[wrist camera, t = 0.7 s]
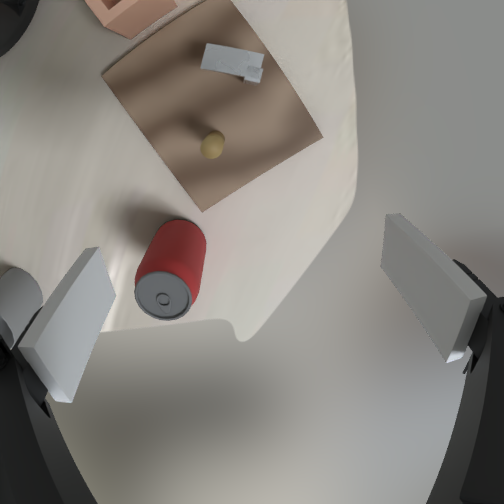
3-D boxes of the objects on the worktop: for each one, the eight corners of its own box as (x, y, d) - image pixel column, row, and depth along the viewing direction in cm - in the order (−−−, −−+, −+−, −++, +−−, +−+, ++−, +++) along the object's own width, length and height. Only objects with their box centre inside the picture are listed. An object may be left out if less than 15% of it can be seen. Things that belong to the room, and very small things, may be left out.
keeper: (255, 86, 31) (259, 83, 25) (206, 76, 30) (199, 71, 25) (261, 63, 30) (266, 54, 24) (211, 53, 29) (206, 43, 23)
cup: (51, 297, 42) (22, 338, 33) (30, 317, 44) (4, 356, 35) (16, 258, 39) (-18, 293, 30) (-2, 282, 41) (-33, 317, 32)
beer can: (160, 266, 41) (138, 326, 30) (151, 220, 38) (121, 269, 27) (209, 263, 41) (202, 323, 30) (203, 215, 38) (191, 264, 27)
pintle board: (106, 76, 29) (77, 73, 23) (223, -5, 26) (220, -29, 19) (203, 208, 37) (196, 233, 31) (319, 135, 34) (340, 145, 27)
